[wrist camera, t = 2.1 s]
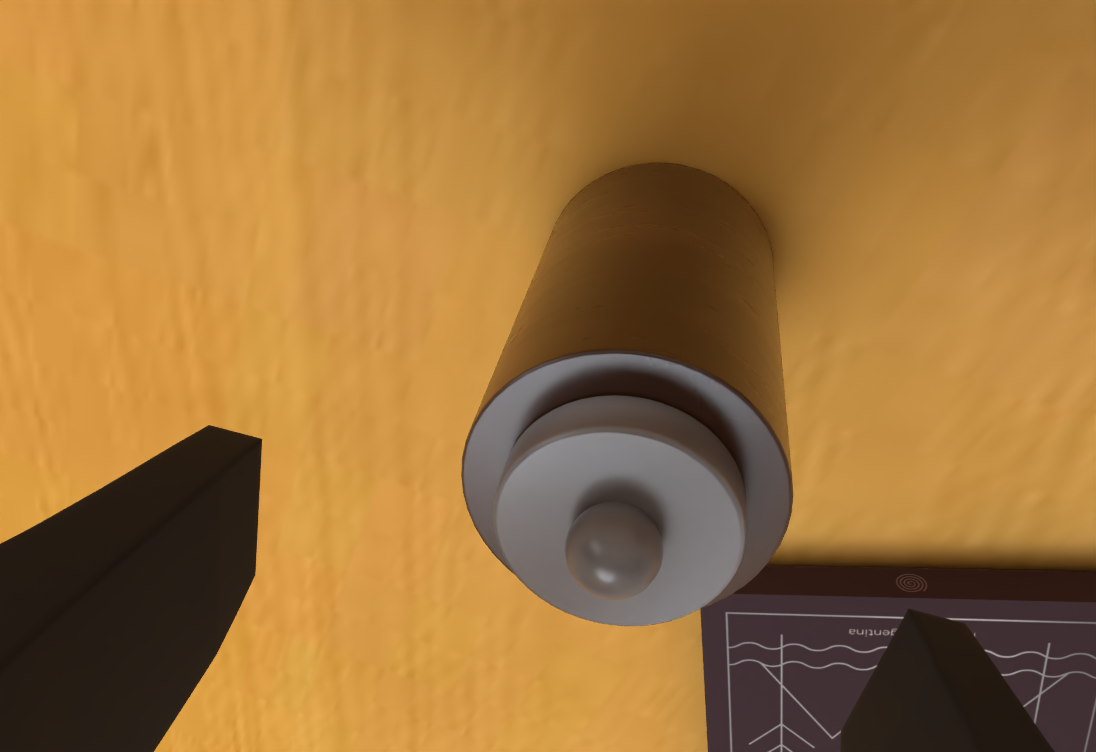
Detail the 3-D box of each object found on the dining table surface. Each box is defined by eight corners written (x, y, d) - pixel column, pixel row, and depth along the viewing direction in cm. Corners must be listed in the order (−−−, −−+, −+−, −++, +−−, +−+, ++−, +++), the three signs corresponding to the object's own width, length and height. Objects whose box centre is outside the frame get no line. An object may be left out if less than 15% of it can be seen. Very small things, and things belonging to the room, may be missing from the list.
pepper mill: (811, 206, 18) (868, 506, 10) (722, 397, 20) (716, 754, 13) (584, 130, 18) (475, 373, 10) (521, 329, 20) (394, 647, 13)
